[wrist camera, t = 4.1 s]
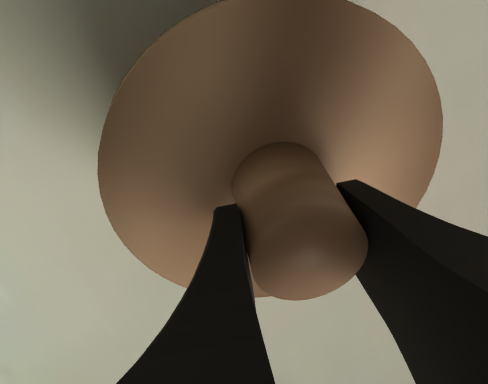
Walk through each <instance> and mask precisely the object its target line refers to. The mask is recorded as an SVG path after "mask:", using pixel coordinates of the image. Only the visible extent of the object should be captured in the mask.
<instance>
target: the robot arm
mask: <svg viewBox="0 0 488 384" xmlns="http://www.w3.org/2000/svg"><path fill="white" fill-rule="evenodd" d="M336 187H337V188H338V190H339V191H340V193H341V195H342V196H343V198H344V199H345V201H346V203H347V204H348V206H349V207H350V209H351V211H352V212H353V214H354V215H355V217H356V218H357V220H358V222H359V223H360V225H361V226H362V228H363V230H364V231H365V233H366V236H367V239H368V252H367V256H366V258H365V261H364V263H363V265H362V266H361V268H360V269H359V271H358V272H357V273H356V276H357V278H358V279H359V281H360V283H361V284H362V286H363V287H364V289H365V291H366V292H367V294H368V295H369V297H370V299H371V300H372V302H373V303H374V305H375V307H376V308H377V310H378V311H379V313H380V315H381V316H382V318H383V319H384V321H385V323H386V324H387V326H388V328H389V330H390V331H391V333H392V335H393V337H394V339H395V341H396V343H397V345H398V347H399V349H400V351H401V353H402V355H403V357H404V359H405V361H406V363H407V366H408V368H409V370H410V372H411V374H412V376H413V378H414V381H415V383H416V384H488V236H484V235H481V234H479V233H476V232H473V231H470V230H467V229H464V228H461V227H458V226H456V225H453V224H450V223H448V222H445V221H443V220H441V219H438V218H436V217H434V216H431V215H429V214H427V213H424V212H422V211H420V210H418V209H416V208H413V207H411V206H409V205H407V204H405V203H403V202H401V201H399V200H397V199H395V198H393V197H391V196H389V195H387V194H385V193H383V192H381V191H380V190H378V189H376V188H374V187H372V186H370V185H368V184H366V183H364V182H362V181H359V180H357V179H354V180H349V181H344V182H339V183H336ZM116 384H275V381H274V378H273V374H272V370H271V367H270V363H269V359H268V356H267V352H266V348H265V344H264V341H263V337H262V333H261V329H260V325H259V322H258V318H257V314H256V308H255V299H254V291H253V284H252V278H251V272H250V267H249V261H248V255H247V250H246V246H245V240H244V233H243V227H242V221H241V216H240V212H239V209H238V206H237V203H235V204H230V205H225V206H220V207H216V208H215V210H214V211H213V220H212V225H211V229H210V233H209V237H208V240H207V243H206V246H205V249H204V252H203V255H202V257H201V260H200V262H199V264H198V267H197V269H196V271H195V274H194V276H193V278H192V280H191V282H190V284H189V286H188V288H187V290H186V292H185V293H184V295H183V297H182V299H181V301H180V302H179V304H178V305H177V307H176V309H175V310H174V312H173V313H172V315H171V317H170V318H169V320H168V321H167V323H166V324H165V326H164V327H163V328H162V330H161V331H160V332H159V334H158V335H157V336H156V338H155V339H154V340H153V342H152V343H151V344H150V345H149V347H148V348H147V349H146V351H145V352H144V353H143V354H142V356H141V357H140V358H139V359H138V361H137V362H136V363H135V364H134V365H133V366H132V367H131V368H130V369H129V371H128V372H127V373H126V374H125V375H124V376H123V377H122V378H121V379H120V380H119V381H118V382H117V383H116Z"/></svg>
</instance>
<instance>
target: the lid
mask: <svg viewBox="0 0 488 384" xmlns="http://www.w3.org/2000/svg"><path fill="white" fill-rule="evenodd" d="M442 128H443V115H442V108H441V100H440V95H439V92H438V89H437V86H436V82H435V79H434V77H433V75H432V73H431V71H430V69H429V67H428V65H427V63H426V61H425V59H424V58H423V56H422V55H421V54H420V52H419V51H418V49H417V48H416V47H415V45H414V44H413V43H412V42H411V41H410V40H409V39H408V38H407V37H406V36H405V35H404V34H403V33H402V32H401V31H400V30H399V29H398V28H397V27H395V26H394V25H393V24H391V23H389V22H388V21H386V20H385V19H383V18H382V17H380V16H379V15H377V14H376V13H374V12H372V11H370V10H367V9H365V8H363V7H361V6H359V5H356V4H354V3H352V2H349V1H347V0H222V1H220V2H217V3H214V4H211V5H209V6H206V7H205V8H203V9H201V10H199V11H197V12H195V13H193V14H191V15H190V16H188V17H186V18H184V19H182V20H181V21H180V22H178V23H177V24H176V25H174V26H173V27H171V28H170V29H169V30H167V31H166V32H165V33H163V34H162V35H161V36H160V37H159V38H158V39H157V40H155V41H154V42H153V43H152V44H151V45H150V46H149V47H148V48H147V49H146V50H145V51H144V52H143V53H142V54H141V56H140V57H139V58H138V59H137V61H136V62H135V63H134V65H133V66H132V67H131V69H130V70H129V71H128V73H127V74H126V76H125V77H124V79H123V81H122V83H121V85H120V86H119V88H118V90H117V92H116V94H115V95H114V98H113V101H112V103H111V106H110V109H109V112H108V114H107V117H106V120H105V124H104V127H103V131H102V136H101V141H100V146H99V151H98V181H99V189H100V195H101V199H102V202H103V205H104V209H105V212H106V214H107V216H108V218H109V221H110V223H111V225H112V227H113V229H114V231H115V232H116V233H117V235H118V236H119V238H120V239H121V241H122V242H123V244H124V245H125V246H126V247H127V248H128V249H129V250H130V252H131V253H132V254H133V255H134V256H135V257H136V258H137V259H138V260H140V261H141V262H142V263H143V264H144V265H146V266H147V267H148V268H149V269H151V270H152V271H154V272H155V273H157V274H159V275H160V276H162V277H163V278H165V279H167V280H169V281H171V282H174V283H176V284H178V285H180V286H183V287H186V288H188V286H189V284H190V282H191V280H192V278H193V276H194V274H195V271H196V269H197V267H198V264H199V262H200V260H201V257H202V255H203V252H204V249H205V246H206V243H207V240H208V237H209V233H210V229H211V225H212V220H213V211H214V210H215V208H216V207H220V206H225V205H230V204H235V203H237V206H238V209H239V212H240V216H241V221H242V227H243V233H244V240H245V246H246V250H247V255H248V261H249V267H250V272H251V278H252V284H253V291H254V298H255V297H268V296H273V297H276V298H279V299H284V300H306V299H312V298H316V297H319V296H322V295H325V294H327V293H330V292H332V291H334V290H336V289H338V288H339V287H341V286H342V285H344V284H345V283H346V282H348V281H349V280H350V279H351V278H352V277H353V276H354V275H355V274H356V273H357V272H358V271H359V269H360V268H361V266H362V265H363V263H364V261H365V258H366V256H367V252H368V239H367V236H366V233H365V231H364V230H363V228H362V226H361V225H360V223H359V222H358V220H357V218H356V217H355V215H354V214H353V212H352V211H351V209H350V207H349V206H348V204H347V203H346V201H345V199H344V198H343V196H342V195H341V193H340V191H339V190H338V188H337V187H336V183H339V182H344V181H349V180H354V179H357V180H359V181H362V182H364V183H366V184H368V185H370V186H372V187H374V188H376V189H378V190H380V191H381V192H383V193H385V194H387V195H389V196H391V197H393V198H395V199H397V200H399V201H401V202H403V203H405V204H407V205H409V206H411V207H413V208H416V207H417V206H418V204H419V202H420V201H421V199H422V197H423V195H424V194H425V192H426V190H427V188H428V186H429V183H430V181H431V179H432V176H433V174H434V171H435V168H436V164H437V161H438V158H439V154H440V148H441V142H442Z"/></svg>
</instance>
